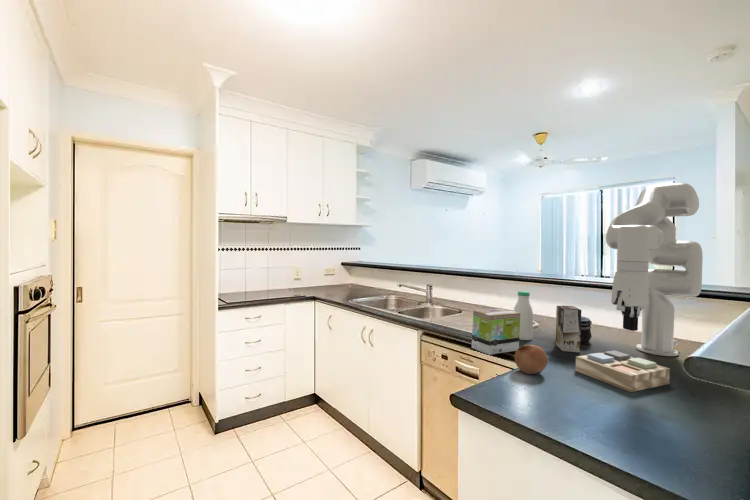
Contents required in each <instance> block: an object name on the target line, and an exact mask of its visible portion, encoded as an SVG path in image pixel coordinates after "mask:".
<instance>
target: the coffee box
mask: <svg viewBox="0 0 750 500" xmlns="http://www.w3.org/2000/svg"><path fill="white" fill-rule="evenodd" d="M555 314H556V317H555V345H556V347H557V348H558V349H559V350H561V351H562V352H571V353H580V352H581V345H580V334H581V316H582V309H580V308H578V307H576V306H574V305H556V313H555Z"/></svg>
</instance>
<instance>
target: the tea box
mask: <svg viewBox="0 0 750 500" xmlns="http://www.w3.org/2000/svg"><path fill="white" fill-rule="evenodd" d="M519 331H520V313H518V312H514V310H509V309H506V308H502V307H500V308H490V309H475V310H473V314H472V331H471V332H472V333H471V348H472V349H473V350H476V351H479V352H481V353H483V354H486V355H488V356H492V355H496V354H503V353H510V352H516V351H517V349H518V348H520V346H519V345H520V340H519Z"/></svg>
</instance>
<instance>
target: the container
mask: <svg viewBox="0 0 750 500" xmlns="http://www.w3.org/2000/svg"><path fill="white" fill-rule="evenodd" d="M592 324H593V323H592V320H591V319H590V318H589V317H586V316H582V315H581V334H580V346H582V345H583V346H585V345H588V344H590V340H591V338H592V336H593V335H592V331H591V328H592V326H591V325H592Z"/></svg>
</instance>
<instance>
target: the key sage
mask: <svg viewBox="0 0 750 500" xmlns="http://www.w3.org/2000/svg"><path fill="white" fill-rule="evenodd" d="M628 364H631V365H634V366H637V367H640V368H643V369H651V368H656V365H657V362H655V361H651V360H648V359H645V358H641V357H633V359H628Z"/></svg>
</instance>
